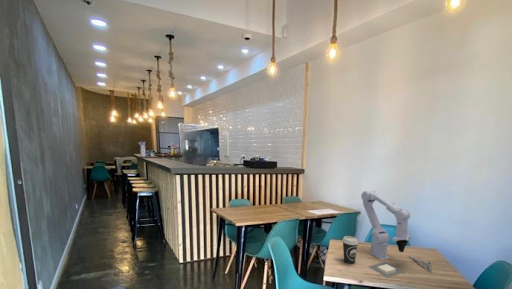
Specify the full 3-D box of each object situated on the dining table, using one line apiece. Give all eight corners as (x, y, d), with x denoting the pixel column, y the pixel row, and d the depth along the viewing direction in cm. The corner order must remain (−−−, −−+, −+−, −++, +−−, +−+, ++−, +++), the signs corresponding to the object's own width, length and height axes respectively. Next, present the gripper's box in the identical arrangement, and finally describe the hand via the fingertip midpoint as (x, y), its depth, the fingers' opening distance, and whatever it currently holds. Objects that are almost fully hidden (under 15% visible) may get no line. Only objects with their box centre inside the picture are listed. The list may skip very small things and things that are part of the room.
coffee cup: (357, 260, 155) (358, 237, 155) (357, 267, 147) (358, 242, 147) (342, 257, 159) (342, 234, 159) (340, 263, 151) (341, 239, 151)
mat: (368, 267, 147) (368, 266, 147) (385, 262, 154) (385, 261, 154) (387, 278, 136) (387, 277, 136) (405, 272, 142) (405, 272, 142)
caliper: (431, 273, 143) (432, 263, 143) (429, 273, 143) (430, 263, 143) (409, 257, 163) (410, 247, 163) (408, 257, 163) (408, 247, 163)
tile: (386, 267, 147) (377, 269, 144) (386, 264, 147) (377, 266, 144) (395, 272, 142) (386, 275, 138) (395, 268, 142) (386, 271, 138)
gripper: (400, 233, 142) (399, 256, 143) (415, 230, 149) (415, 252, 149) (389, 229, 149) (388, 251, 149) (404, 226, 155) (403, 247, 155)
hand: (401, 251), depth 149 cm, fingers closed
